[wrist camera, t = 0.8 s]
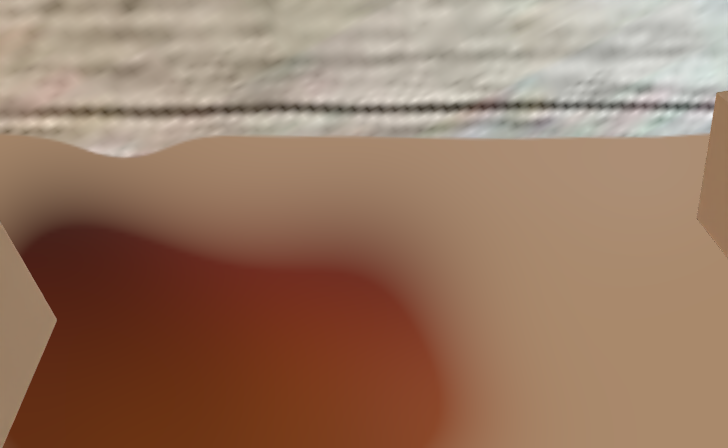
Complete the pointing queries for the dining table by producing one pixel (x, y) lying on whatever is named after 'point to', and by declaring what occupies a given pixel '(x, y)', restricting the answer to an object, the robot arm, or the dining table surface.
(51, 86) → the dining table surface
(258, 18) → the dining table surface
